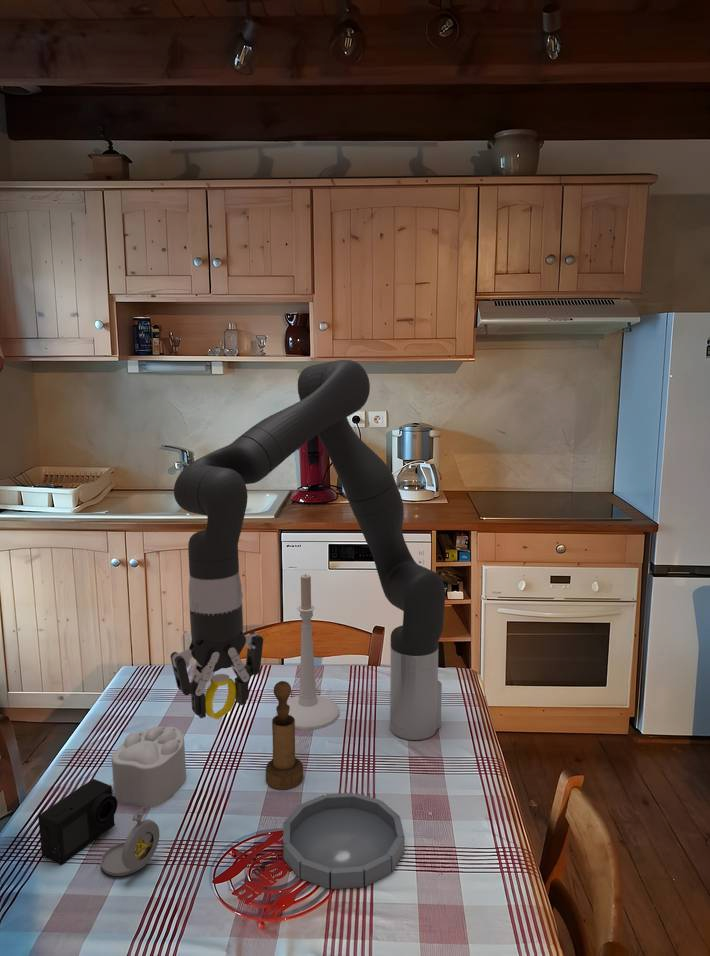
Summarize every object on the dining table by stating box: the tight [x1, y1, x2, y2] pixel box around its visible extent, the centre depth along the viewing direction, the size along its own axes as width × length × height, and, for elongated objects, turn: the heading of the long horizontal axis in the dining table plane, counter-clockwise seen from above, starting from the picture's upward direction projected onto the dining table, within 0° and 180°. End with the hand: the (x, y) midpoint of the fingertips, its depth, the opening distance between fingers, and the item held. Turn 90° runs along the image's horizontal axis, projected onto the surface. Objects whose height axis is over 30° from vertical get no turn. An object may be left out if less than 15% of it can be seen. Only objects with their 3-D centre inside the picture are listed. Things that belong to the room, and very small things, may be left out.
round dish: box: [282, 792, 405, 890], centre depth 109 cm, size 18×18×2 cm
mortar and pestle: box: [265, 680, 304, 790], centre depth 125 cm, size 7×6×18 cm
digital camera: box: [37, 778, 118, 866], centre depth 110 cm, size 10×5×7 cm, turn 152°
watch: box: [205, 673, 236, 720], centre depth 107 cm, size 6×3×6 cm, turn 152°
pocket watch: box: [100, 807, 161, 877], centre depth 105 cm, size 8×8×10 cm
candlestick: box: [276, 573, 340, 731], centre depth 146 cm, size 13×13×30 cm
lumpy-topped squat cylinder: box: [111, 725, 187, 809], centre depth 125 cm, size 10×13×9 cm
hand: (220, 708), depth 108 cm, fingers closed on watch, 6 cm apart
